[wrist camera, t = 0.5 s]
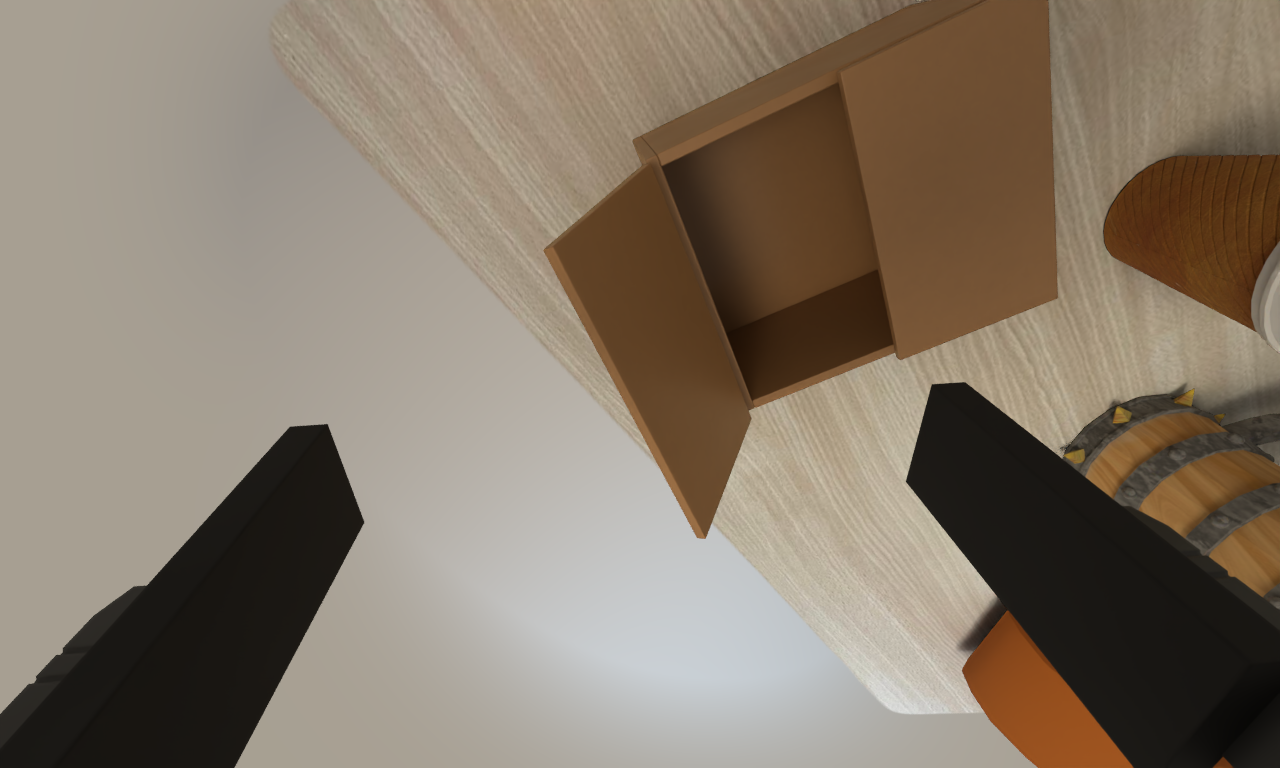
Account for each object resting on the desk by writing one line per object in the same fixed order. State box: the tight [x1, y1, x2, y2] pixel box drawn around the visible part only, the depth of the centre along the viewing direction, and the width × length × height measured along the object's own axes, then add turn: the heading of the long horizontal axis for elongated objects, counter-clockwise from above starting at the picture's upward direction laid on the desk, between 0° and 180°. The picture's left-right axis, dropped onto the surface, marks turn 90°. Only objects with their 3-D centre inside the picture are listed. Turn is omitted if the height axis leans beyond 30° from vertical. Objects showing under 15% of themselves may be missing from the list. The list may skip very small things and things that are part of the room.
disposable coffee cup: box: [1104, 155, 1280, 353], centre depth 27 cm, size 10×10×12 cm
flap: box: [544, 163, 751, 539], centre depth 21 cm, size 13×7×1 cm
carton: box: [633, 0, 1058, 411], centre depth 26 cm, size 13×15×9 cm
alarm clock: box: [962, 610, 1234, 768], centre depth 46 cm, size 23×9×17 cm, turn 78°
